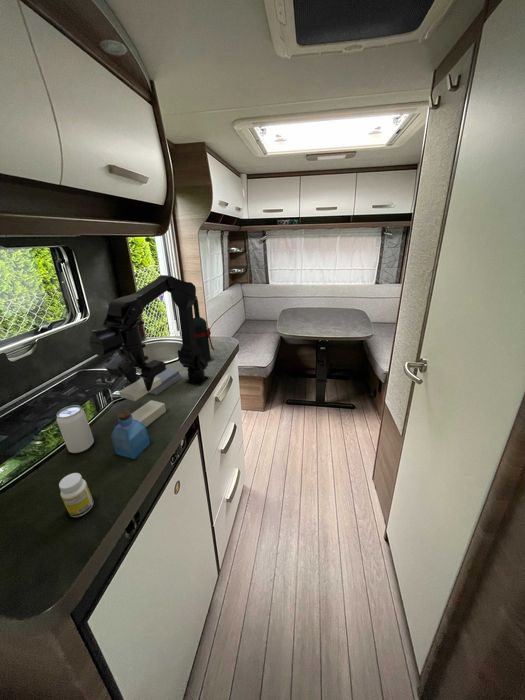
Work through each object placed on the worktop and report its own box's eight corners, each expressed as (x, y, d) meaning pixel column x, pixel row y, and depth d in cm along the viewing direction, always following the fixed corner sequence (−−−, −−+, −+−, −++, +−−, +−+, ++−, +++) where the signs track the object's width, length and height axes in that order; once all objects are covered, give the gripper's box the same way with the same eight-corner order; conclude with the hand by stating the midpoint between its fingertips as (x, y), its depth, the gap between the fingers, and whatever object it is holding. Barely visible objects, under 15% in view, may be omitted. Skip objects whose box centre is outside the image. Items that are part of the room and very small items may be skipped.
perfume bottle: (150, 443, 80) (141, 408, 75) (134, 459, 74) (124, 422, 70) (132, 439, 82) (123, 405, 77) (116, 454, 76) (105, 418, 71)
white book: (147, 380, 93) (146, 375, 93) (161, 383, 91) (160, 378, 90) (120, 397, 84) (119, 391, 83) (134, 401, 82) (133, 395, 81)
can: (82, 455, 76) (69, 419, 71) (62, 452, 77) (48, 417, 73) (99, 439, 82) (88, 405, 77) (80, 436, 83) (68, 403, 78)
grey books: (164, 374, 119) (163, 366, 117) (181, 378, 115) (179, 370, 114) (138, 390, 107) (136, 382, 106) (156, 395, 104) (154, 386, 102)
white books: (152, 407, 96) (151, 399, 95) (166, 411, 94) (164, 403, 93) (126, 426, 87) (124, 418, 86) (141, 430, 85) (139, 423, 84)
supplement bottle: (76, 499, 63) (65, 471, 60) (97, 497, 64) (87, 470, 60) (64, 519, 59) (51, 490, 56) (87, 517, 59) (75, 488, 56)
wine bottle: (213, 363, 128) (206, 298, 116) (191, 362, 128) (182, 298, 117) (217, 356, 135) (211, 294, 123) (197, 355, 136) (188, 294, 124)
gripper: (84, 348, 78) (98, 395, 84) (131, 358, 71) (143, 409, 77) (117, 335, 88) (128, 378, 94) (162, 343, 80) (171, 389, 86)
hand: (141, 388), depth 87 cm, fingers closed on white book, 6 cm apart
